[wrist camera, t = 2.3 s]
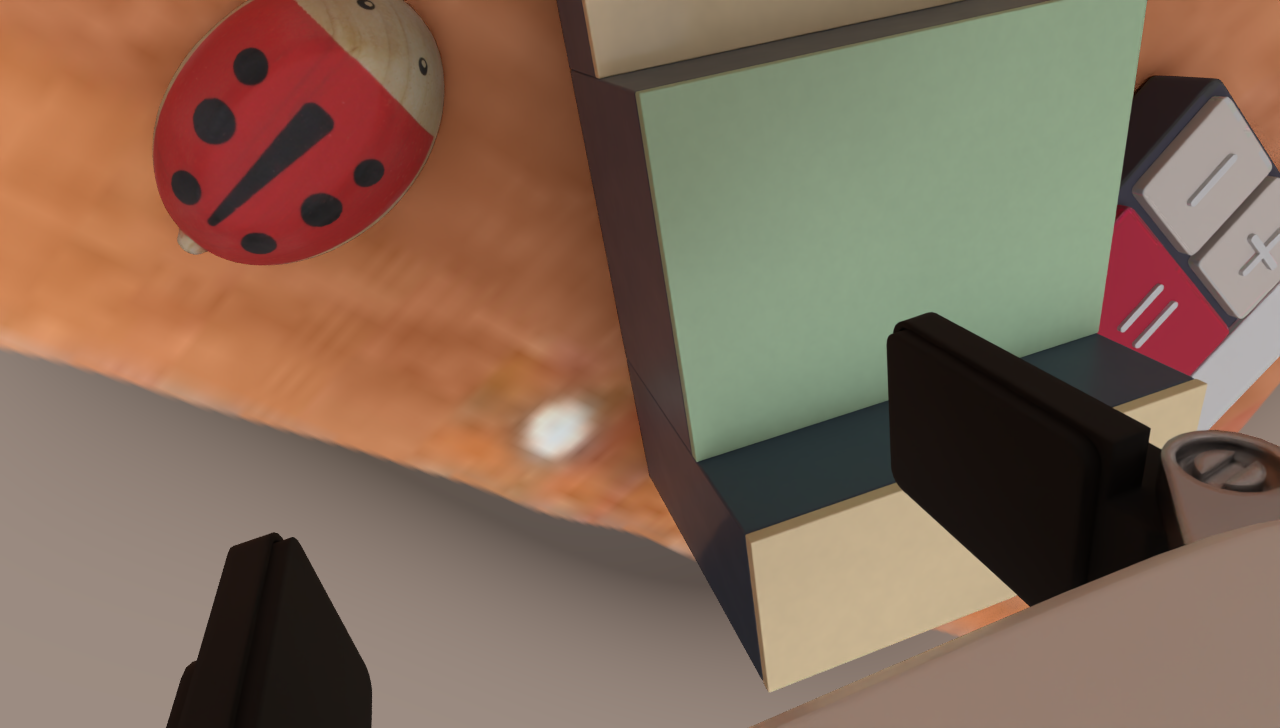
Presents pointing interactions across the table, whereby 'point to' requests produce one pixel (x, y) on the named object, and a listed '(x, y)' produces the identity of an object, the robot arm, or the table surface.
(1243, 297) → the calculator
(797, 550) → the step rack
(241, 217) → the ladybug figurine
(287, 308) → the table surface
